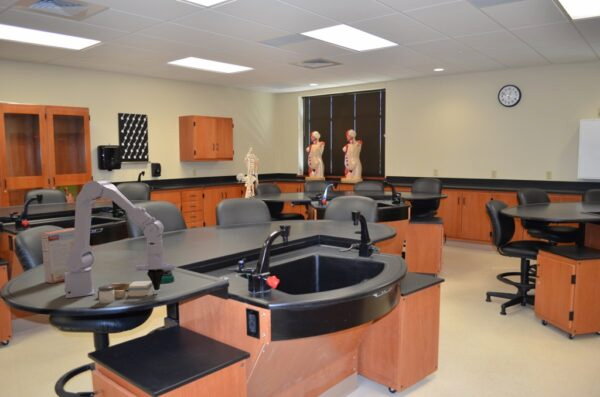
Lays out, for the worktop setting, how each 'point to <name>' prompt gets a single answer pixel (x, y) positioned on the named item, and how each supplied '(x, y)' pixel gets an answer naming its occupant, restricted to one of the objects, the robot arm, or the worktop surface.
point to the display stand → (119, 289)
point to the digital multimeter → (167, 276)
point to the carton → (140, 288)
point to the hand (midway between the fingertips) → (157, 289)
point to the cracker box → (56, 253)
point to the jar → (106, 294)
